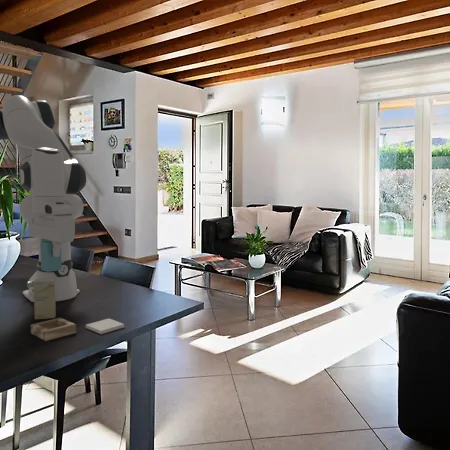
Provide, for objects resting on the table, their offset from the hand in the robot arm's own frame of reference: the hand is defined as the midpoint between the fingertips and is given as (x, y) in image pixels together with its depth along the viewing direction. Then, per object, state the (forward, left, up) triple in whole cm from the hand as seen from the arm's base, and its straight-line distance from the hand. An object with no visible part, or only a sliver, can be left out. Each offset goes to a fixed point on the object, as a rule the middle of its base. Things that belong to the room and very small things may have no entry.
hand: (50, 255), depth 122 cm
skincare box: (-16, +5, -23) cm, 28 cm away
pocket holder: (0, 0, -23) cm, 23 cm away
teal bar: (0, 0, -4) cm, 4 cm away
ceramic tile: (+7, +12, -23) cm, 27 cm away
